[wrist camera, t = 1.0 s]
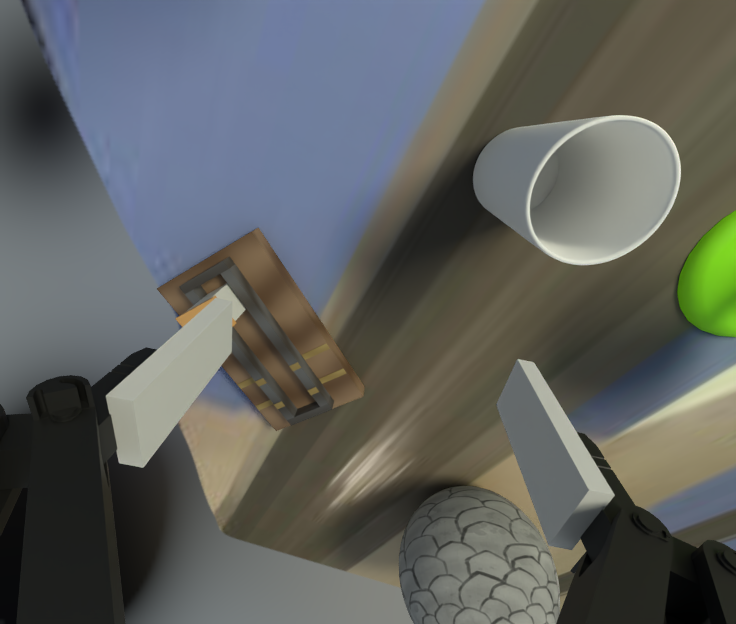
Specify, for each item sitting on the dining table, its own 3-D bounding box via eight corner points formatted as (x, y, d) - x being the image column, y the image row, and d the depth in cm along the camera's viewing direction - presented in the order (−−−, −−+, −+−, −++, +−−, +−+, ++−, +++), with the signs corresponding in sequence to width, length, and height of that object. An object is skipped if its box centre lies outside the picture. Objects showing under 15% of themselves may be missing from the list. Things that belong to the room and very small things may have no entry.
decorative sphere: (396, 534, 60) (395, 701, 42) (401, 450, 52) (403, 615, 34) (514, 543, 59) (566, 720, 41) (540, 459, 50) (619, 635, 32)
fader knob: (204, 295, 40) (175, 318, 35) (236, 277, 39) (211, 298, 34) (222, 319, 41) (197, 344, 36) (254, 302, 40) (233, 326, 35)
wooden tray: (166, 282, 42) (147, 294, 39) (258, 227, 39) (245, 235, 35) (280, 420, 51) (272, 440, 47) (364, 386, 47) (362, 405, 44)
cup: (515, 232, 37) (591, 290, 22) (455, 184, 35) (495, 213, 21) (579, 163, 34) (714, 179, 19) (516, 106, 32) (613, 77, 18)
